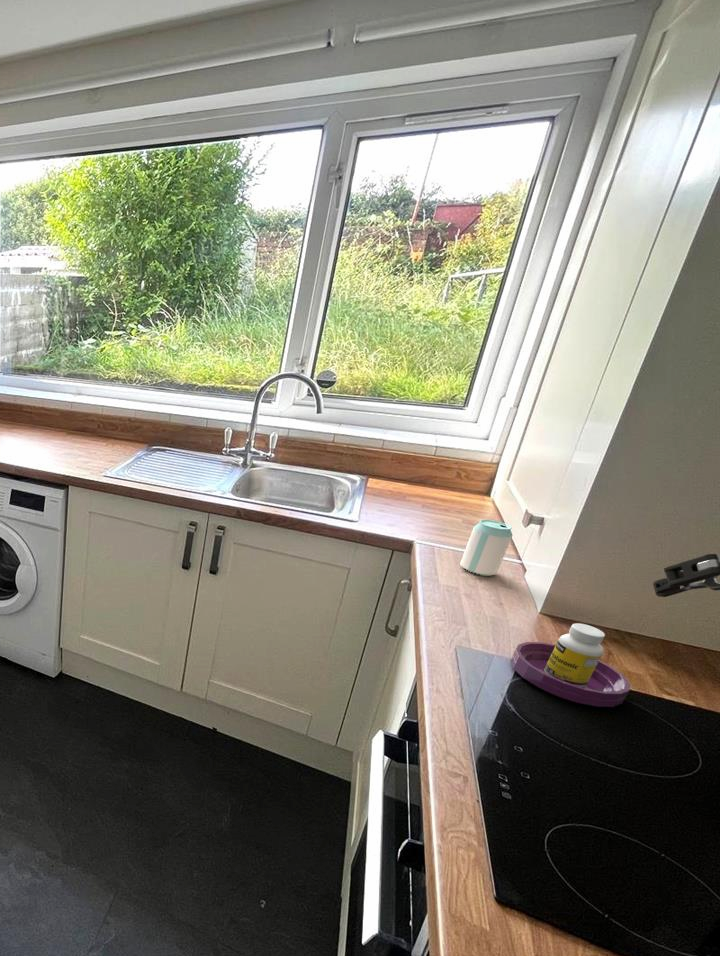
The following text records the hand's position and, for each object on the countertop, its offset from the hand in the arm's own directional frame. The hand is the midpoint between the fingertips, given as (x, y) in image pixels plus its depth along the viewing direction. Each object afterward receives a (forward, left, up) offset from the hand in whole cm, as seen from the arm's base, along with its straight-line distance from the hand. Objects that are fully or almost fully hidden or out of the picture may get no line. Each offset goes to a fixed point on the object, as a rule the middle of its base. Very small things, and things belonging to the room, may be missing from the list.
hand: (693, 593), depth 79 cm
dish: (+10, -6, -24) cm, 27 cm away
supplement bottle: (+10, -6, -23) cm, 26 cm away
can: (+43, -38, -24) cm, 62 cm away
